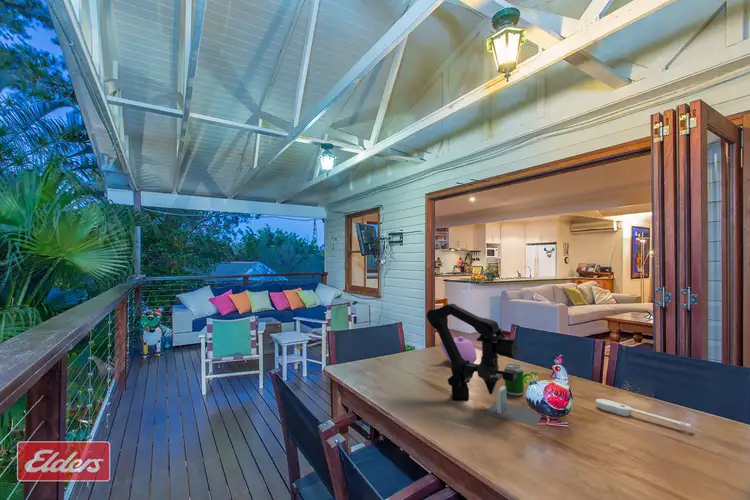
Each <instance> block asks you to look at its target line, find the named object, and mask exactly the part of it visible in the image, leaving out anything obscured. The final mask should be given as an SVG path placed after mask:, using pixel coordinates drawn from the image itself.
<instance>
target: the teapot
mask: <svg viewBox="0 0 750 500" xmlns="http://www.w3.org/2000/svg"><path fill="white" fill-rule="evenodd" d="M453 339H454V342H455V344H456V346H457V348H458V350H459V352H460V355H461V357H462V358H463V359H464V360H465V361H467V360H469V362H470V363H474V364H475V362H476V361H477V352H476V349H475V347H474V344H473V343H472V341H471V340H470V339H468V338H465V337H464V336H462V335H461V336H460V335H459V336H457V337H453ZM439 345H440V347H441V349H442V352H443V353H444V355H445V356H446V358H447V360H448V362H449V363H450V364H451V361H450V358H449V356H448V354H447V352H446V349H445V347H444V345H443V343H442V342H439Z"/></svg>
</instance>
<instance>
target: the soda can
mask: <svg viewBox="0 0 750 500" xmlns="http://www.w3.org/2000/svg"><path fill="white" fill-rule="evenodd" d="M505 369H511V370H515V371H516V372H517V378H516V379H515V380H514V381H507V380H504V386H506V394H508V395H510V396H515V397H517V396H522V395H524V394H525V393H524V392H525V390H524V389H525V388H524V387H525V386H524V368H523V367H522V366H521V365H520V364H518V363H517V364H516V363H507V364H506V365H505V366H504V370H505Z"/></svg>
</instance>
